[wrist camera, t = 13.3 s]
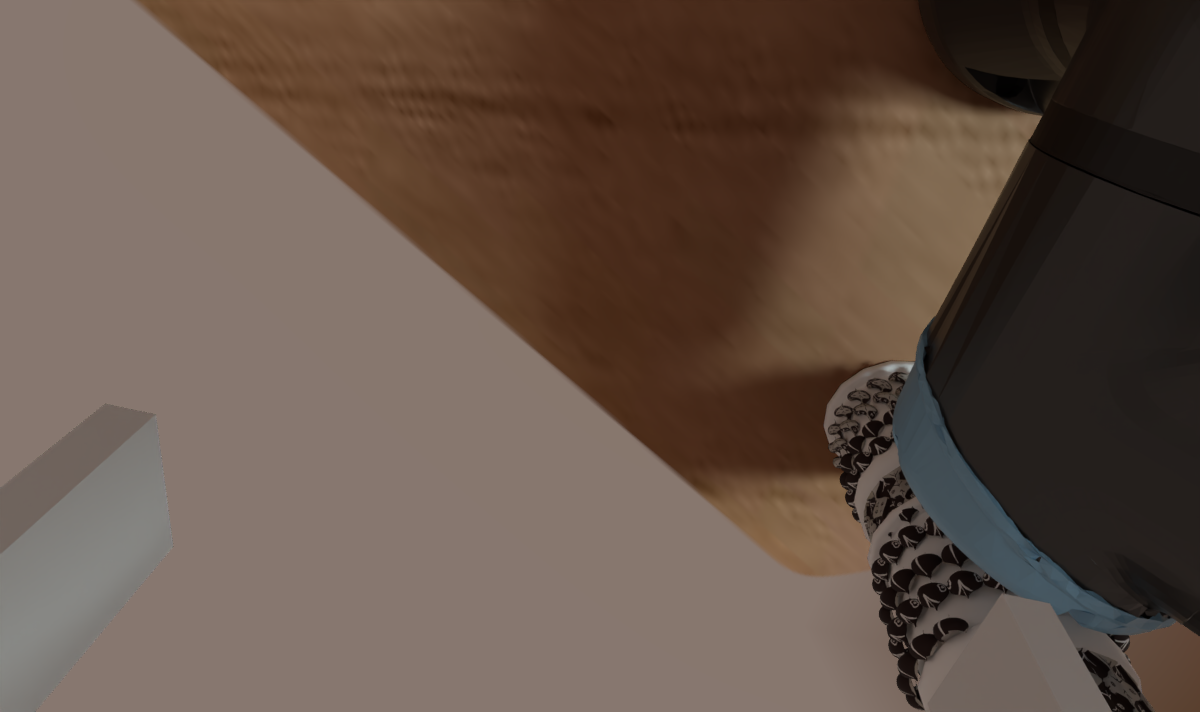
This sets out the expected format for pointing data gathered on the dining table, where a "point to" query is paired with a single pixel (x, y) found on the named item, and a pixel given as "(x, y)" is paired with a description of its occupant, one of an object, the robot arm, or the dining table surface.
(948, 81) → the dining table surface
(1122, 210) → the robot arm
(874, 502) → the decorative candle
